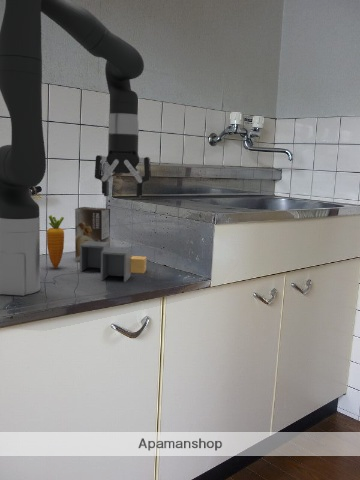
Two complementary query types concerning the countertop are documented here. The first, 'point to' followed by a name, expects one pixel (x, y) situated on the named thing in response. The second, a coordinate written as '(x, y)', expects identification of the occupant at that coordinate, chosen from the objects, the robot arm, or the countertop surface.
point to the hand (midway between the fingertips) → (122, 196)
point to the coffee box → (91, 226)
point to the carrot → (55, 241)
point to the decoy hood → (91, 254)
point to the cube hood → (116, 263)
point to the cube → (138, 264)
